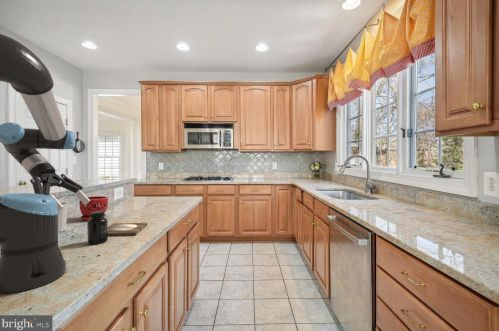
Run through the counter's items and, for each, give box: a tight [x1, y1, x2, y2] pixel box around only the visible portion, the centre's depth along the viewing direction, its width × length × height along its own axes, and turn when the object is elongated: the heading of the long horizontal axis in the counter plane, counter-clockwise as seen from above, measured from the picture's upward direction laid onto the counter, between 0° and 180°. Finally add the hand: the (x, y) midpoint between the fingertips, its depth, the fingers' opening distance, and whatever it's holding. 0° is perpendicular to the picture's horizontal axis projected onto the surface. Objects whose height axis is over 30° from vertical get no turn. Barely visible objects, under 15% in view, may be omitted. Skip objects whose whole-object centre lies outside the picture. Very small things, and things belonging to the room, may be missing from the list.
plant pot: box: [79, 195, 109, 222], centre depth 131 cm, size 13×13×12 cm
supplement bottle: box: [86, 211, 109, 246], centre depth 95 cm, size 7×7×12 cm
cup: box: [58, 202, 69, 232], centre depth 111 cm, size 8×8×12 cm
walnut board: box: [108, 222, 148, 237], centre depth 110 cm, size 16×16×2 cm
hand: (75, 206), depth 96 cm, fingers open, 13 cm apart
